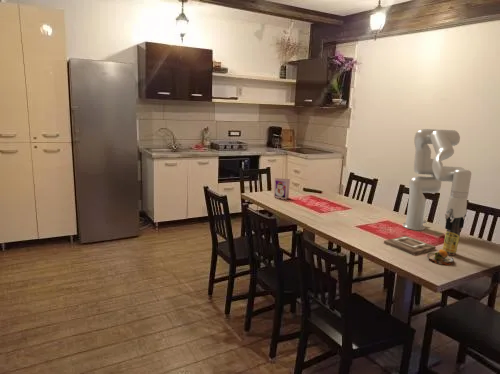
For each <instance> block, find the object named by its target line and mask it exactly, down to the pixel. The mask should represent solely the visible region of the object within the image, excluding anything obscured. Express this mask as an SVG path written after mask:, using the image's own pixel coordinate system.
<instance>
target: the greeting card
mask: <svg viewBox="0 0 500 374" xmlns="http://www.w3.org/2000/svg"><path fill="white" fill-rule="evenodd" d="M290 181H291V179H290V178H276V177H275V178H274V186H273V187H274V188H273V198H274V197H276V198H275V199H279V198H281V199H280V200H284V199H286V200H287V199H289V198H290V196H289V195H290V183H291V182H290Z"/></svg>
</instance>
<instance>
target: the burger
mask: <svg viewBox="0 0 500 374" xmlns="http://www.w3.org/2000/svg"><path fill="white" fill-rule="evenodd" d="M426 257H427V258H428V261H429V262H431V263H433V262H434V263H435V264H436V265H445V266H449V265H453V264H454V258H453V257H452V256H451V255H448V253H447V252H446V250H443V248H441V249H440V248H439V250H438V251H437V252H428V253H427V255H426Z"/></svg>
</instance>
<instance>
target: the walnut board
mask: <svg viewBox="0 0 500 374" xmlns="http://www.w3.org/2000/svg"><path fill="white" fill-rule="evenodd" d="M383 244H385V245H386V246H390V247H391V248H392V247H393V248H394V249H397V250H399V251H402V252H404V253H407V254H410V255H413V256H416V255H419V254H423V253H426V252H431V251H434V250H436V246H435V245H432V244H430V243H427V242H424V241H420V240H418V239H415V238H413V237H409V236H407V235H404V236H399V237H394V238H389V239H386V240H384V241H383Z"/></svg>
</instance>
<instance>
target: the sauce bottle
mask: <svg viewBox="0 0 500 374" xmlns="http://www.w3.org/2000/svg"><path fill="white" fill-rule="evenodd" d="M460 220H461V217H459V218H454V220H453V221H452V222H453V227H452V230H448V229H446V232H445V236H444V240H443V241H444V242H443V245H442V249H443V250H446V252H447V253H448V256H455V255H456V254H457V250H458V245H459V241H460V236H461V235H460V234H461V228H460V227H459V223H460Z"/></svg>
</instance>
